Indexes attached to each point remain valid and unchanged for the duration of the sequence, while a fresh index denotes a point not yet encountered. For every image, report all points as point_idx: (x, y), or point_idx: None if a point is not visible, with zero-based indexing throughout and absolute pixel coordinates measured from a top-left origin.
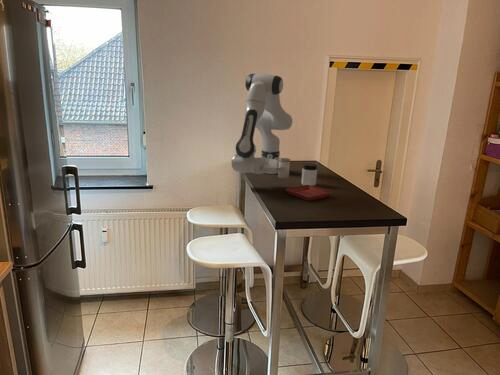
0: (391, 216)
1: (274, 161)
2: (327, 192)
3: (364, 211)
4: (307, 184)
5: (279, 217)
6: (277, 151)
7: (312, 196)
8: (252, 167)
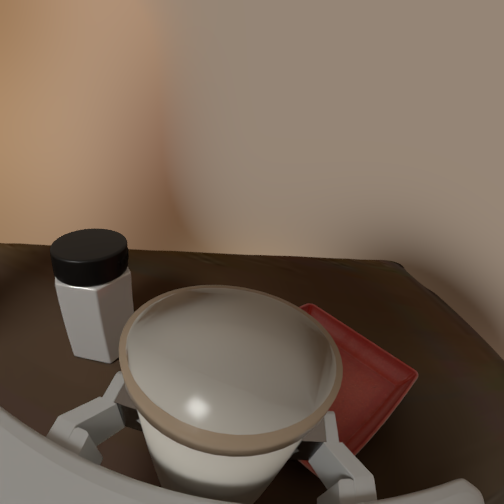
0: (393, 267)
1: (32, 481)
2: None
3: (394, 289)
4: None
5: None
6: None
7: (401, 362)
8: None
